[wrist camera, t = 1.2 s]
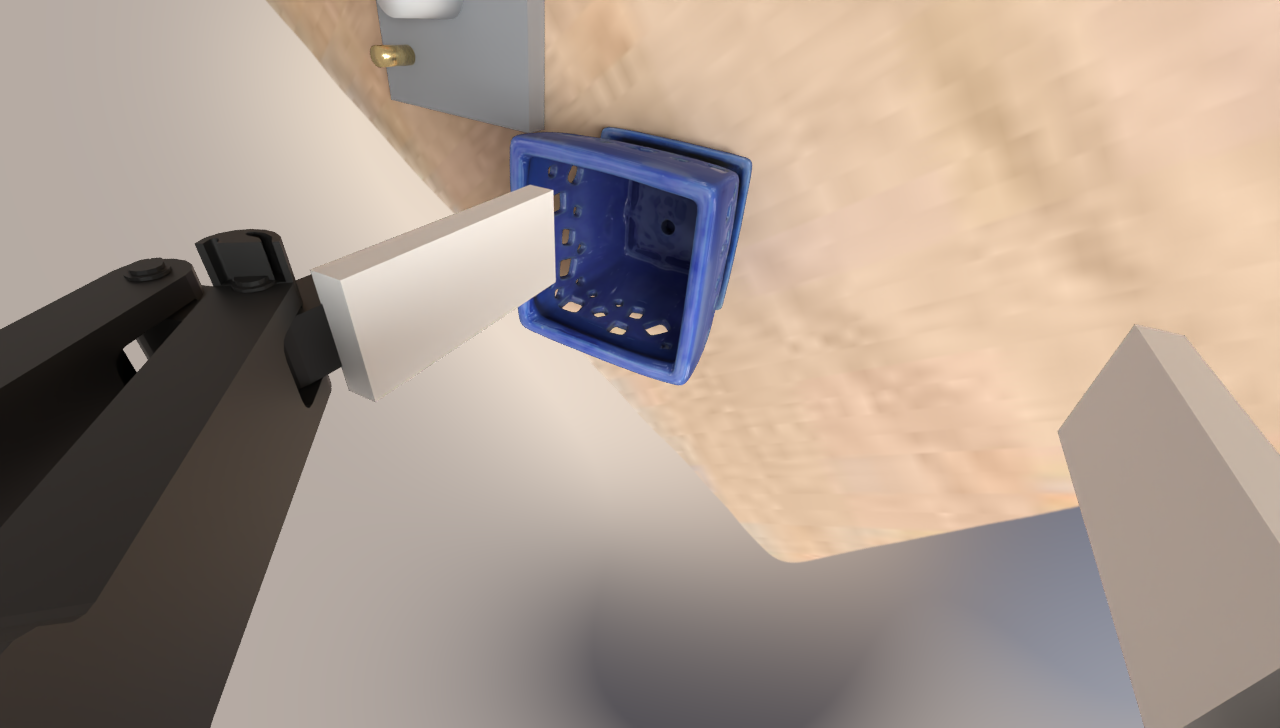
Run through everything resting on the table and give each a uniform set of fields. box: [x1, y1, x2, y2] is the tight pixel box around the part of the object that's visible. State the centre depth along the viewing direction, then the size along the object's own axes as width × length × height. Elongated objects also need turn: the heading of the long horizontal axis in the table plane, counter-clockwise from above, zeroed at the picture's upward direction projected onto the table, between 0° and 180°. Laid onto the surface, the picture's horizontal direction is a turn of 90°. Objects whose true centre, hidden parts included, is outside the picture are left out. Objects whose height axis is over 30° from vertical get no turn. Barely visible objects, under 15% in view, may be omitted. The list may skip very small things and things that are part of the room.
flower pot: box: [510, 127, 752, 385], centre depth 35 cm, size 13×13×12 cm
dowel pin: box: [370, 45, 415, 67], centre depth 40 cm, size 1×1×3 cm
